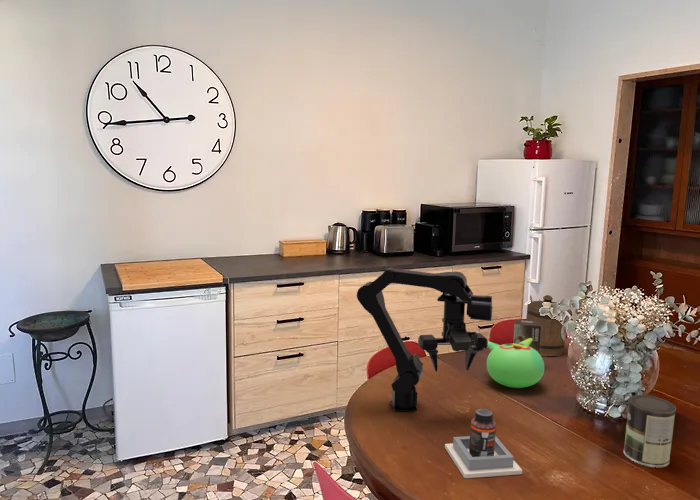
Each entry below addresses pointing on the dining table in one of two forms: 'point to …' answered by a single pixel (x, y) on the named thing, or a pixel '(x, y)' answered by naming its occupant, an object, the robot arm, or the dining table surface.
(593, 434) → the dining table surface
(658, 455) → the coffee can
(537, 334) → the coffee box
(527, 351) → the toy bird
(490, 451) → the supplement bottle
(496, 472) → the cup holder
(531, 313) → the wooden container
